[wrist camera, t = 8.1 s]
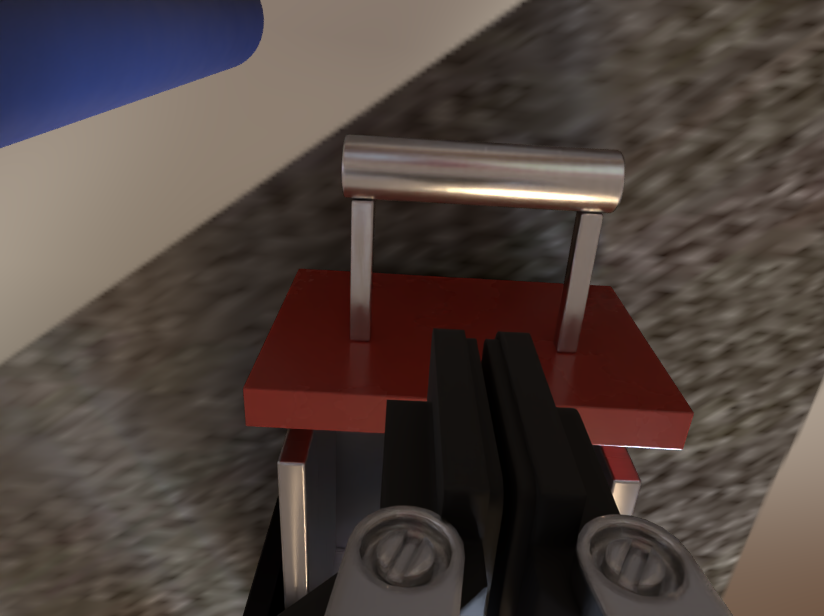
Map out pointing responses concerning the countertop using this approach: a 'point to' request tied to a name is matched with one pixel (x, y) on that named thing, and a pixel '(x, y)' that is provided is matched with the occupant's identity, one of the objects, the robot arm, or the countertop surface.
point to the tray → (445, 309)
